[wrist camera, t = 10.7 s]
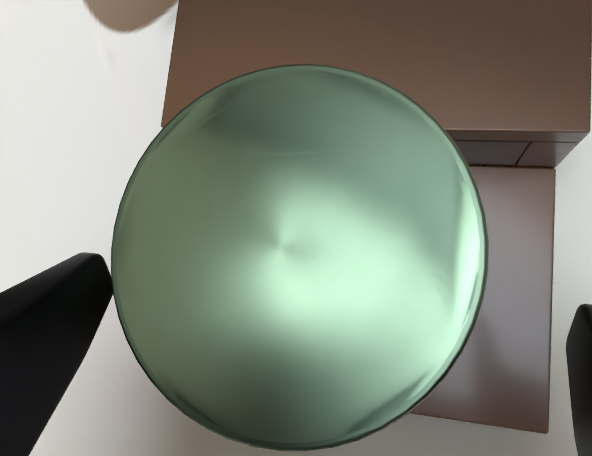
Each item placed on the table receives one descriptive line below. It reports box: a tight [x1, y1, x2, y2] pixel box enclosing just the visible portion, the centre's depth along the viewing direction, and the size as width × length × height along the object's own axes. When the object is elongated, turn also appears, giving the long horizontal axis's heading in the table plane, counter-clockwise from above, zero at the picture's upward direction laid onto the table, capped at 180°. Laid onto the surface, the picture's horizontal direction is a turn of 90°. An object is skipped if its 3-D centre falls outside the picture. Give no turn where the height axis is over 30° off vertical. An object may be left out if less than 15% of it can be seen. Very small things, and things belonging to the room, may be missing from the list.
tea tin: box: [111, 64, 489, 451], centre depth 12 cm, size 6×6×9 cm
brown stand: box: [161, 0, 592, 434], centre depth 16 cm, size 16×12×5 cm
